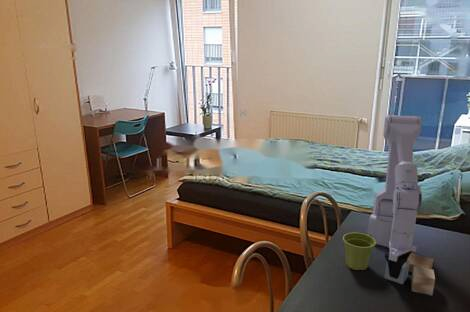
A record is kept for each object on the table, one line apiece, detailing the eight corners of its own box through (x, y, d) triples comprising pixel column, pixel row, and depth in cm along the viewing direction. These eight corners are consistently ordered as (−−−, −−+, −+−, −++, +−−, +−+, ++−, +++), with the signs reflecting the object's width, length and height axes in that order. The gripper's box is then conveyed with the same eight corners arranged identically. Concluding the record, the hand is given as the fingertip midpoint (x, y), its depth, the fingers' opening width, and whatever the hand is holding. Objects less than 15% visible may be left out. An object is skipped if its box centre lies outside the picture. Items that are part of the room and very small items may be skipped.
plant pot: (334, 265, 114) (337, 239, 112) (349, 254, 121) (351, 229, 118) (364, 278, 108) (367, 250, 106) (377, 265, 115) (381, 239, 112)
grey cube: (384, 278, 108) (386, 262, 107) (389, 270, 112) (391, 255, 111) (402, 284, 105) (405, 268, 104) (407, 276, 109) (409, 261, 108)
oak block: (401, 270, 113) (402, 261, 112) (407, 260, 118) (408, 251, 117) (426, 278, 109) (428, 269, 108) (431, 268, 114) (433, 259, 113)
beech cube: (411, 291, 102) (414, 275, 101) (411, 281, 107) (413, 265, 105) (432, 295, 100) (435, 279, 99) (430, 285, 105) (433, 269, 104)
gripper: (411, 243, 97) (404, 290, 100) (424, 224, 108) (417, 266, 111) (383, 235, 101) (377, 280, 104) (398, 218, 112) (393, 258, 115)
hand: (396, 272), depth 108 cm, fingers closed on grey cube, 5 cm apart
